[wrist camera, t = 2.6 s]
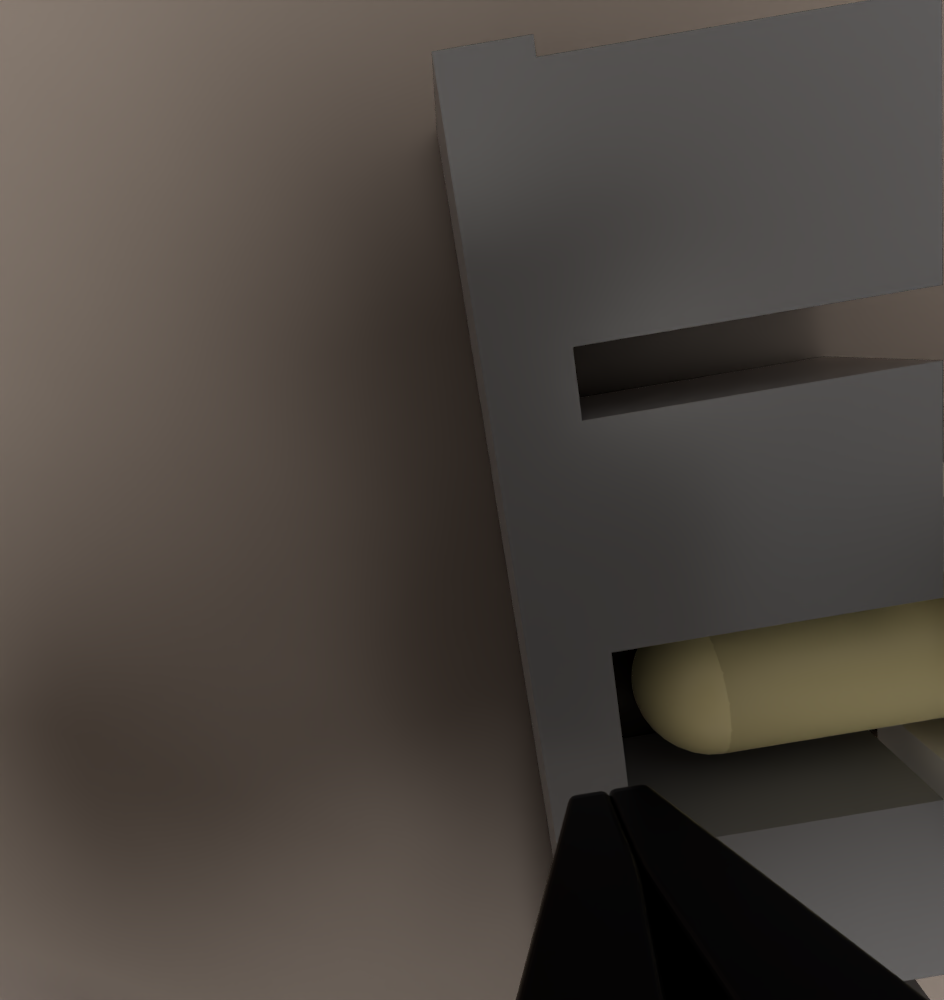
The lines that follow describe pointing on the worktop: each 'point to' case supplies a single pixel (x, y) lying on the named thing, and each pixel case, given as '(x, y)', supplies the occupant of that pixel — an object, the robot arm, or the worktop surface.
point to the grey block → (920, 741)
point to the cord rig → (721, 433)
